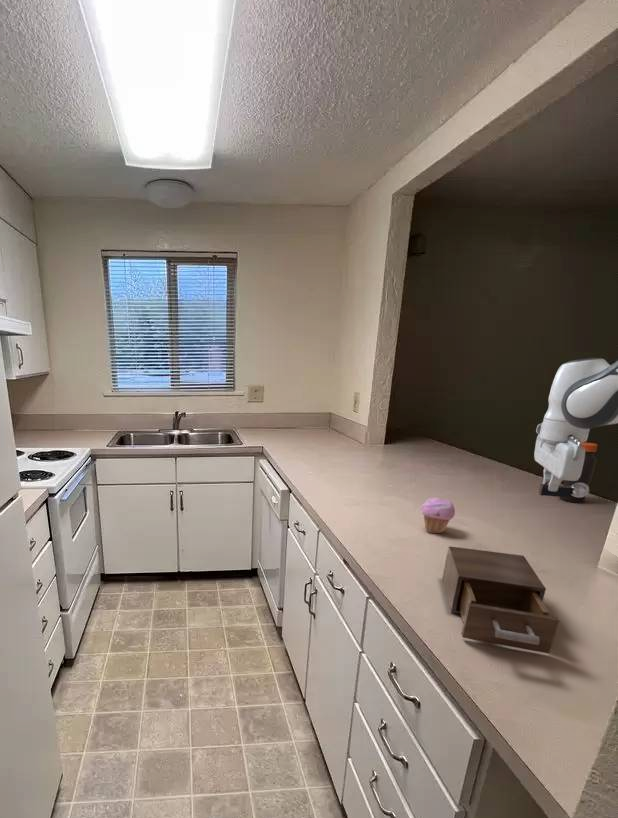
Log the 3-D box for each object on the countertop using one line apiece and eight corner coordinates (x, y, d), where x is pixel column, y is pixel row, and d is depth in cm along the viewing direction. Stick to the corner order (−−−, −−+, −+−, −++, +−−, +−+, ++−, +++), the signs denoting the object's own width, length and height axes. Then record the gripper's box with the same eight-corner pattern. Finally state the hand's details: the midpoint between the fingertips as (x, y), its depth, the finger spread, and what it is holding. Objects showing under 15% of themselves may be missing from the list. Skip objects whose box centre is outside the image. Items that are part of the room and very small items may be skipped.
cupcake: (416, 523, 133) (421, 492, 130) (447, 526, 131) (453, 495, 127) (420, 534, 125) (425, 502, 122) (453, 538, 123) (460, 505, 119)
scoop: (537, 492, 108) (540, 478, 107) (583, 495, 105) (587, 481, 104) (541, 496, 105) (545, 482, 104) (589, 500, 102) (593, 485, 100)
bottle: (563, 502, 150) (580, 445, 143) (556, 496, 156) (571, 441, 149) (587, 504, 148) (605, 446, 141) (578, 498, 154) (595, 442, 147)
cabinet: (534, 627, 84) (546, 588, 81) (450, 613, 89) (458, 576, 86) (514, 590, 97) (523, 555, 94) (442, 579, 101) (448, 546, 98)
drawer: (558, 671, 71) (570, 637, 69) (466, 653, 76) (474, 620, 73) (526, 611, 87) (534, 582, 85) (452, 599, 92) (458, 571, 89)
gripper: (600, 441, 90) (582, 503, 95) (564, 425, 108) (551, 478, 113) (563, 439, 93) (547, 500, 97) (535, 424, 110) (522, 476, 115)
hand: (549, 488), depth 105 cm, fingers closed on scoop, 2 cm apart
